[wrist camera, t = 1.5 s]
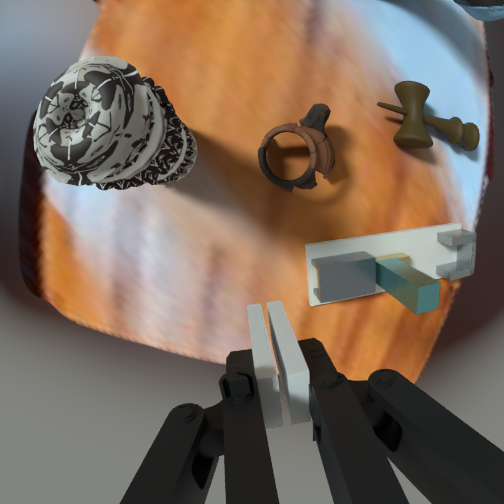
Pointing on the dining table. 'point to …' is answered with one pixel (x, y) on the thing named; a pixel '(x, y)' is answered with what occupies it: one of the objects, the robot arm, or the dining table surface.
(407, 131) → the kendama
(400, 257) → the two-tone teal block
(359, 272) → the sleeve
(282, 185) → the brown grey jagged ring
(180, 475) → the robot arm
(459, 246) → the socket
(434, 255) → the base board
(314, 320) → the dining table surface
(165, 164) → the decorative candle
